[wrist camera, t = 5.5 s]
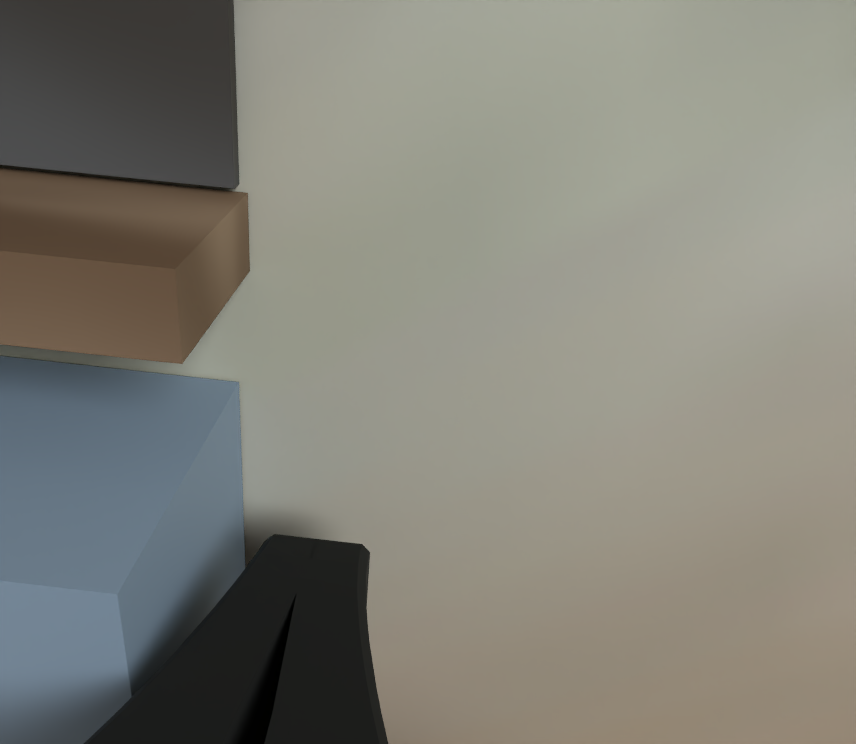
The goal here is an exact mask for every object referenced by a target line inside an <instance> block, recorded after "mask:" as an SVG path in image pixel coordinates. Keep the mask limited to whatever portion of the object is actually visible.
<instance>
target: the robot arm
mask: <svg viewBox="0 0 856 744" xmlns="http://www.w3.org/2000/svg"><path fill="white" fill-rule="evenodd" d="M369 559H370V552H369V551H368V550H367V549H366V548H365V547H364V546H363V545H362V544H355V543H347V542H338V541H329V540H320V539H311V538H302V537H294V536H285V535H276V534H274V535H273V536H271V537H270V538H268V539H267V540H266V541H265V542H264V544H263V545H262V546H261V548H260V549H259V551H258V552H257V553H256V555H255V556H254V557H253V559H252V560H251V561H250V563H249V564H248V565H247V567H246V568H245V569H244V571H243V572H242V573H241V575H240V576H239V577H238V578H237V580H236V581H235V582H234V584H233V585H232V586H231V587H230V588H229V590H228V591H227V592H226V593H225V595H224V596H223V597H222V598H221V599H220V601H219V602H218V603H217V604H216V606H215V607H214V608H213V609H212V610H211V612H210V613H209V614H208V615H207V616H206V617H205V618H204V620H203V621H202V622H201V623H200V624H199V625H198V626H197V628H196V629H195V630H194V631H193V632H192V633H191V634H190V635H189V637H188V638H187V639H186V640H185V641H184V642H183V643H182V645H181V646H180V647H179V648H178V649H177V650H176V651H175V652H174V654H173V655H172V656H171V657H170V658H169V659H168V660H167V661H166V662H165V663H164V664H163V665H162V666H161V667H160V668H159V669H158V670H157V671H156V672H155V674H154V675H153V676H152V677H151V678H150V679H149V680H148V681H147V682H146V683H145V684H144V685H143V686H142V687H141V688H140V689H139V690H138V691H137V692H136V693H135V694H134V695H133V696H132V697H131V698H130V699H129V700H128V701H127V702H126V703H125V704H124V705H123V706H122V707H121V708H120V709H119V710H118V711H117V712H116V713H115V714H114V715H113V716H112V717H111V718H110V719H109V720H108V721H107V722H106V723H105V724H104V725H103V726H102V727H101V728H100V729H98V730H97V731H96V732H95V733H94V734H93V735H92V736H91V737H90V738H89V739H88V740H87V741H86V742H85V743H83V744H388V741H387V736H386V732H385V727H384V723H383V718H382V714H381V709H380V704H379V699H378V694H377V688H376V682H375V676H374V669H373V663H372V656H371V650H370V643H369V634H368V624H367V609H366V606H367V590H368V574H369Z"/></svg>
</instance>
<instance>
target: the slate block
mask: <svg viewBox="0 0 856 744" xmlns="http://www.w3.org/2000/svg"><path fill="white" fill-rule="evenodd" d="M244 569H245V544H244V515H243V487H242V458H241V429H240V400H239V382H232V381H223V380H214V379H205V378H196V377H187V376H178V375H169V374H160V373H151V372H142V371H132V370H123V369H114V368H105V367H96V366H87V365H78V364H69V363H60V362H51V361H42V360H33V359H24V358H15V357H6V356H0V744H83V743H85V742H86V741H87V740H88V739H89V738H90V737H91V736H92V735H93V734H94V733H95V732H96V731H97V730H98V729H100V728H101V727H102V726H103V725H104V724H105V723H106V722H107V721H108V720H109V719H110V718H111V717H112V716H113V715H114V714H115V713H116V712H117V711H118V710H119V709H120V708H121V707H122V706H123V705H124V704H125V703H126V702H127V701H128V700H129V699H130V698H131V697H132V696H133V695H134V694H135V693H136V692H137V691H138V690H139V689H140V688H141V687H142V686H143V685H144V684H145V683H146V682H147V681H148V680H149V679H150V678H151V677H152V676H153V675H154V674H155V672H156V671H157V670H158V669H159V668H160V667H161V666H162V665H163V664H164V663H165V662H166V661H167V660H168V659H169V658H170V657H171V656H172V655H173V654H174V652H175V651H176V650H177V649H178V648H179V647H180V646H181V645H182V643H183V642H184V641H185V640H186V639H187V638H188V637H189V635H190V634H191V633H192V632H193V631H194V630H195V629H196V628H197V626H198V625H199V624H200V623H201V622H202V621H203V620H204V618H205V617H206V616H207V615H208V614H209V613H210V612H211V610H212V609H213V608H214V607H215V606H216V604H217V603H218V602H219V601H220V599H221V598H222V597H223V596H224V595H225V593H226V592H227V591H228V590H229V588H230V587H231V586H232V585H233V584H234V582H235V581H236V580H237V578H238V577H239V576H240V575H241V573H242V572H243V571H244Z"/></svg>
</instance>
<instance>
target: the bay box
mask: <svg viewBox="0 0 856 744" xmlns="http://www.w3.org/2000/svg"><path fill="white" fill-rule="evenodd" d="M0 165H9V166H19V167H29V168H39V169H48V170H58V171H68V172H78V173H87V174H97V175H107V176H117V177H126V178H136V179H146V180H156V181H165V182H175V183H185V184H195V185H204V186H214V187H224V188H236V187H237V186H238V185H239V163H238V132H237V100H236V69H235V37H234V5H233V0H0ZM249 271H250V262H249V224H248V193H243V192H233V191H223V190H214V189H204V188H194V187H184V186H175V185H165V184H155V183H145V182H136V181H126V180H116V179H106V178H97V177H87V176H77V175H67V174H58V173H48V172H38V171H28V170H19V169H9V168H0V344H2V345H12V346H21V347H30V348H39V349H49V350H58V351H67V352H77V353H86V354H95V355H105V356H114V357H123V358H132V359H142V360H151V361H160V362H170V363H179V364H183V362H184V361H185V359H186V358H187V357H188V355H189V354H190V353H191V351H192V350H193V348H194V347H195V346H196V344H197V343H198V342H199V340H200V339H201V337H202V336H203V335H204V333H205V332H206V330H207V329H208V328H209V326H210V325H211V324H212V322H213V321H214V319H215V318H216V317H217V315H218V314H219V313H220V311H221V310H222V308H223V307H224V306H225V304H226V303H227V302H228V300H229V299H230V297H231V296H232V295H233V293H234V292H235V290H236V289H237V288H238V286H239V285H240V284H241V282H242V281H243V279H244V278H245V277H246V275H247V274H248V273H249Z"/></svg>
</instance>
